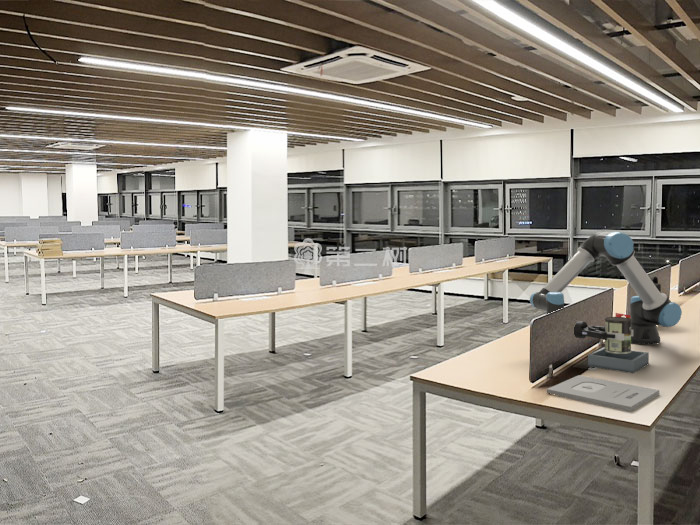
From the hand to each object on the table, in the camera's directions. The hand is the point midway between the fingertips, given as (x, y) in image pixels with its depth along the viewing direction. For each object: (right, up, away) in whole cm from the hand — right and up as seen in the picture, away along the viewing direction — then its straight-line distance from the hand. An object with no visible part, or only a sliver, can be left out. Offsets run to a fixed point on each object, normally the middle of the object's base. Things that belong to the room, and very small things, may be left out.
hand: (628, 335), depth 245 cm
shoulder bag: (+54, -5, +87) cm, 102 cm away
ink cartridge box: (+30, -7, +70) cm, 76 cm away
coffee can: (-3, -8, +4) cm, 9 cm away
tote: (-2, -13, +4) cm, 14 cm away
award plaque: (-25, -18, -33) cm, 46 cm away
